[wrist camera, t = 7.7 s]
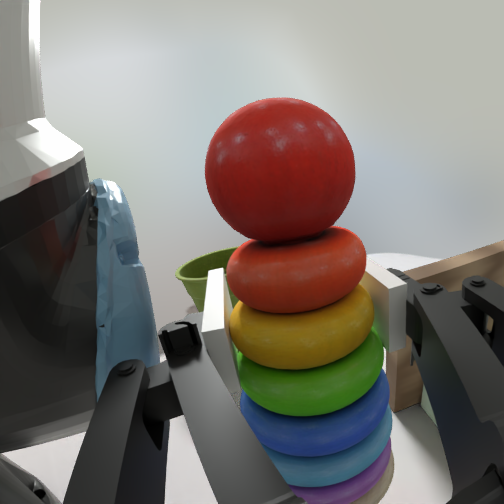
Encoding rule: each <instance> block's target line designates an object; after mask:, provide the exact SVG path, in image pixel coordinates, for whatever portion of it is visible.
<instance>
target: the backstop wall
mask: <svg viewBox="0 0 504 504" xmlns="http://www.w3.org/2000/svg"><path fill="white" fill-rule="evenodd" d="M403 273H404V274H405V275H408V276H409V277H410V278H412V279H414V280H415V281H417V282H419V283H420V284H424V283H437V284H440V285H442V286H444V287H445V288H446V289H447V291H448V292H453V291H460V290H462V281H463V280H464V279H465V278H467V277H471V276H476V275H479V276H481V277H485V278H488V279H490V280H492V281H494V282H495V283H497V284H499V285H501V286H502V287H504V240H503V241H500V242H497V243H494V244H491V245H488V246H485V247H482V248H479V249H476V250H473V251H470V252H467V253H464V254H460V255H457V256H454V257H451V258H448V259H444V260H441V261H438V262H434V263H431V264H428V265H424V266H421V267H418V268H414V269H411V270H407V271H404V272H403ZM492 326H493V319H492V318H491V317H490V316H489V318H488V324H487V329H488V330H490V331H491V330H492ZM411 346H412V339H411V338H410V337H409V336H408V335H407V334H406V347H405V348H402V349H399V350H397V351H394V352H391V353H389V352H388V351H387V350H386V376H387V379H388V383H389V389H390V394H389V405H390V408H391V409H392V411H393V412H394V413H395V412H397V411H400V410H402V409H405V408H407V407H410V406H412V405H414V404H417V403H419V402H421V399H422V392H423V384H424V383H423V380H422V377H421V375H420V372H419V369H418V366H417V364H416V361H415V360H414V362H413V366H410V360H411Z"/></svg>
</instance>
